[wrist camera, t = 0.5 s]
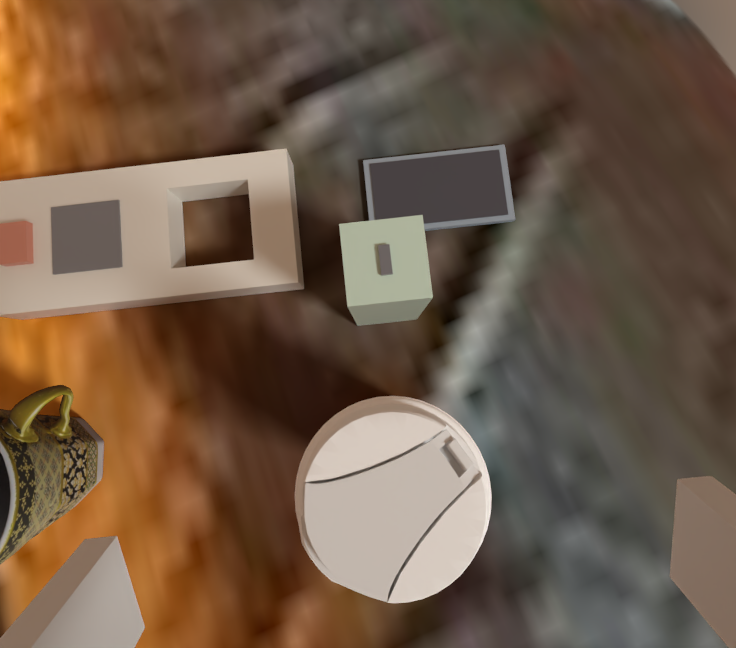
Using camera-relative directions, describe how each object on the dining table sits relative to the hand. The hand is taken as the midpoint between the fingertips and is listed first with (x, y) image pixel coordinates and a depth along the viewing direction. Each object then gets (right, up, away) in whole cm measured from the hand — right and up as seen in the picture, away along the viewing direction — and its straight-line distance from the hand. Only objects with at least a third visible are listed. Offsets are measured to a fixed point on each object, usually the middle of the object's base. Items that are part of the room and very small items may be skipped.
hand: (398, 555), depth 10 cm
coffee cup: (+1, -3, +22) cm, 22 cm away
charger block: (+1, +8, +23) cm, 24 cm away
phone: (+5, +16, +24) cm, 29 cm away
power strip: (-17, +12, +23) cm, 31 cm away
